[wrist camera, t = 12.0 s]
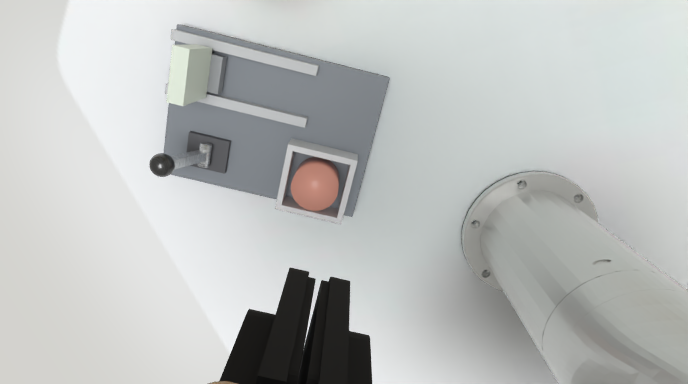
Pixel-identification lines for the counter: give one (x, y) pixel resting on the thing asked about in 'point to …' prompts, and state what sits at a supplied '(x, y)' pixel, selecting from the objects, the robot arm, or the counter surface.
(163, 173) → the toggle
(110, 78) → the counter surface
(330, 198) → the button
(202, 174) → the panel
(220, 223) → the counter surface
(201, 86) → the pale green block
